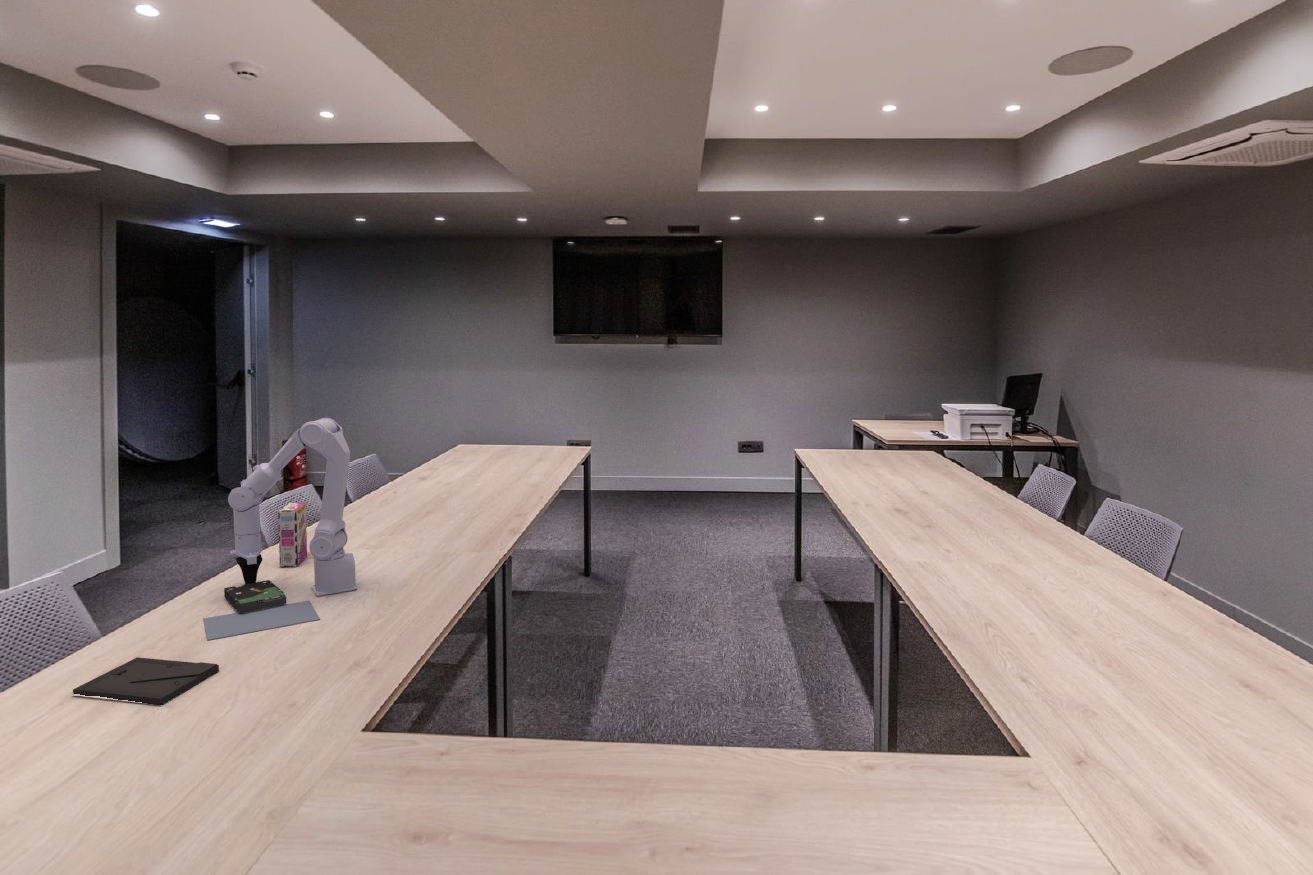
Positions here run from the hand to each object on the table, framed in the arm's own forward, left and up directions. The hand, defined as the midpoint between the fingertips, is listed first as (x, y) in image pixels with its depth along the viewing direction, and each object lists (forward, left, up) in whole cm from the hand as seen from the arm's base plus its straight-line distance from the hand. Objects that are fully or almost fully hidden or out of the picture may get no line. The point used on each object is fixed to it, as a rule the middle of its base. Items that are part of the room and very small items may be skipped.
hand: (250, 584), depth 180 cm
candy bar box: (-13, -20, -2) cm, 24 cm away
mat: (0, +23, -1) cm, 23 cm away
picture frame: (+21, +46, -2) cm, 51 cm away
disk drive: (0, +10, -2) cm, 10 cm away
